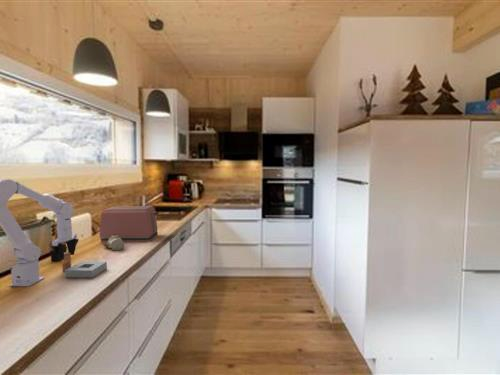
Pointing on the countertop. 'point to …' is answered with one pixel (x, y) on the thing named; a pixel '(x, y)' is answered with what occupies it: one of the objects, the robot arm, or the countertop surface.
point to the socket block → (86, 270)
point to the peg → (66, 261)
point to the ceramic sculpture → (114, 243)
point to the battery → (53, 254)
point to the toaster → (129, 223)
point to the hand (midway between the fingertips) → (66, 257)
